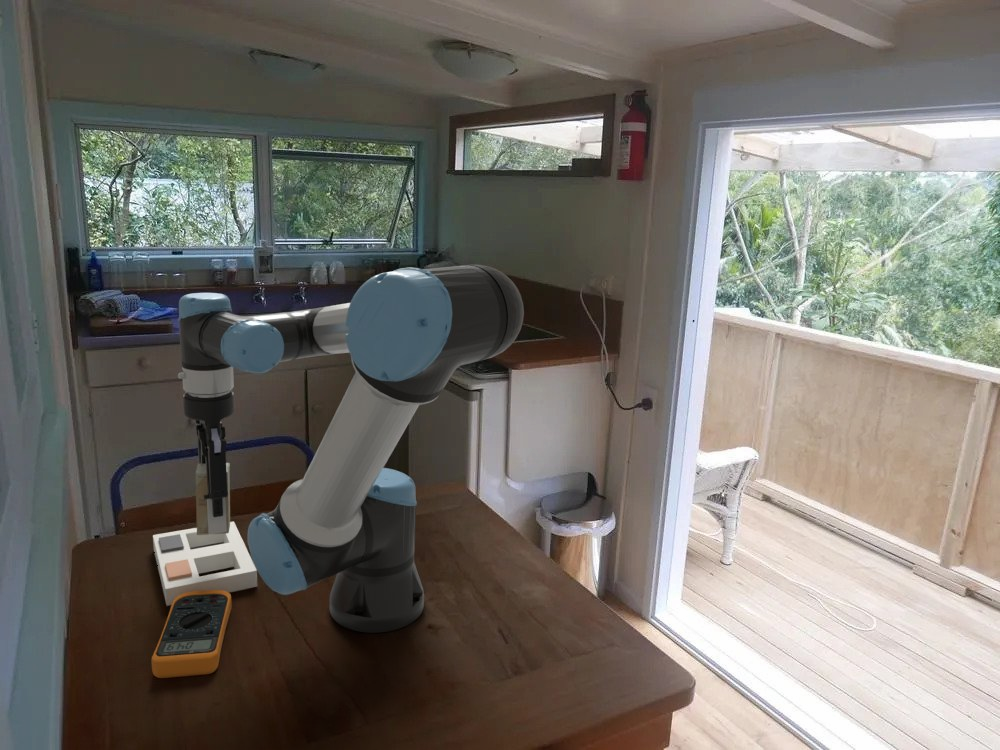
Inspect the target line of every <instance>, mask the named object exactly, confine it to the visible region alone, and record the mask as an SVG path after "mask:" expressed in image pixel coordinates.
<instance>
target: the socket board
mask: <svg viewBox="0 0 1000 750" xmlns="http://www.w3.org/2000/svg"><path fill="white" fill-rule="evenodd" d="M152 542H153V544H152V545H153V552H155V553H154V557H155V561H156V565H158V566H157V570H158V574H159V577H160V582H161V583H160V584H161V587H162V593H163V597H164V601H165V604H166V607H168V606H171V605H172V602H173V600H174V599H175V598H176V597H177V596H179V595H181V594H183V593H187V592H192V591H206V590H223V591H226V592H228V593H233V592H238V591H239V592H240V591H243V590H248V589H253V588H257V587H258V571H257V569H256V567H255V565H254V562H253V560H252V557H251V554H250V553H249V550H248V548H247V546H246V544H245V542H244V540H243V538H242V536H241V534H240V532H239V529H238V528H237V525H236V523H235V521H230V528H229V533H226V534H211V535H197V527H192V528H187V529H182V530H181V529H180V530H176V531H170V532H164V533H157V534H153V535H152ZM228 568H233V569H231V570H227V571H221V572H216V573H211V574H207V575H206V574H205V573H209V572H213V571H219V570H224V569H228ZM199 574H205V575H202V576H200V575H199Z"/></svg>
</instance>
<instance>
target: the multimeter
mask: <svg viewBox="0 0 1000 750" xmlns="http://www.w3.org/2000/svg"><path fill="white" fill-rule="evenodd" d="M232 606H233V605H232V595H231V592H229V593H228V592H226V591H223V590H206V591H192V592H187V593H183V594H181V595H179V596H177V597H176V598H175V599H174V600H173V602H172V605H170V609H169V612H168V616H167V617H166V620H165V623H164V627H163V629H162V632H161V635H160V636H159V637H160V638H159V639H158V642H157V645H156V647H155V649H154V652H153V654H152V656H151V662H150V663H151V670H152V675H153V676H155V677H156V678H158V679H168V678H178V677H190V676H201V675H209V674H212V673H214V672H216V670H217V669H218V667H219V662H220V659H221V658H220V657H221V651H222V647H223V641H224V638H225V634H226V628H227V626H228V622H229V618H230V616H231V615H230V614H231V611H232Z"/></svg>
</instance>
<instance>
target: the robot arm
mask: <svg viewBox="0 0 1000 750" xmlns="http://www.w3.org/2000/svg"><path fill="white" fill-rule="evenodd" d="M232 312H233V309H232V304H231V300H230V298H229V296H228V295H226V294H225V293H224V294H223V293H217V292H194V293H188V294H185V295H183V296H181V297H180V299H179V301H178V317H177V322H178V329H179V330H178V332H179V343H180V344H179V346H180V359H181V369H182V372H178V374H177V378H178V379H182V389H183V391H184V394H183V395H182V396H183V397H182V401H183V414H184V416H185V417H186V418H188V419H190V420H193V421H195V423H196V424H195V432H196V437H197V438H196V439H197V443H196V444H197V452H198V455H197V457H198V458H197V459H198V464H206V472H207V484H208V495H203V496H204V500H205V499H207V512H208V533H209V535H211V534H216V533H222V532H227V526H226V502H225V497H227V496H228V492H227V472H226V463H227V455H226V454H227V440H226V439H225V438H226V427H225V426H223V422H222V420H223V419H225V418H229V417H231V416H233V414H234V412H235V394H234V392H233V388H234V387H235V386H234V385H235V383H234V381H235V378H234V369H236V370H237V371H242V372H244V373H252V374H264V373H268V372H269V371H271V370H272V369H273V368H274V367H276V366H277V365H278V364H279V363H283V362H289V361H293V360H298V359H304V358H305V359H306V358H311V357H317V356H318V357H319V356H329V355H330V356H331V355H336V354H345V353H346V354H349V355H350V358H351V360H350V361H351V364H352V366H353V370H354V371H355V373H354V375H353V377H352V379H351V381H350V383H349V384H348V387H347V389H346V391H345V393H344V395H343V397H342V400H340V403H339V405H338V408H337V409H336V411H335V413H334V416H332V417H333V418H332V420H331V421H330V423H329V425H328V427H327V430H326V431H325V433H324V435H323V438H322V440H321V442H320V444H319V446H318V448H317V450H316V451H315V453H314V456H313V458H312V460H311V462H310V464H309V466H308V468H307V470H306V472H305V474H304V477H303V478H301V479H297V480H296V481H294V482H293V483H291V484H290V485H289V486H288V487H286V489H285V490H284V492H283V493H282V495H281V498H280V500H279V502H278V504H277V506H276V507H275V508H274V510H272V511H269V512H268V513H267V512H266V513H265V512H262V513H261V514H259V515H258V516H256V517H255V518H252V520H251V521H250V523H249V525H248V527H247V528H248V529H247V544H248V549H249V550H248V551H249V552H250V553H249V554H250V557H251V559H252V561H253V563H254V565H255V568H256V570H257V574H259V576H260V578H261V580H263V581H264V583H265V584H266V585H267V586H268V588H269V589H271V590H272V591H273V592H276V593H278V594H279V595H285V596H288V595H292V594H294V593H297V592H299V591H305V590H307V588H308V587H311V586H314V585H315V584H317V583H320V582H321V581H325V580H326V579H328V578H330V577H333V576H335V575H336V577H335V580H334V581H333V585H332V587H331V591H330V594H329V613H330V616H331V618H332V619H333V620H334V621H335V622H336V623H337V624H339V626H341V627H344V628H346V629H349V630H352V631H354V632H361V633H369V634H375V633H380V634H381V633H386V632H393V631H396V630H400V629H402V628H404V627H406V626H409V625H410V624H412V623H414V621H416V620H417V619H418V618H420V616H421V614H422V613H423V610H424V606H425V593H424V588H423V584H422V581H421V578H420V576H419V573H418V570H417V566H416V564H415V549H416V548H415V545H416V544H415V543H416V541H415V540H416V519H417V517H416V515H417V504H418V502H417V500H416V484H415V482H414V480H413V479H412V478H411V477H410V476H408V475H407V474H405V473H404V472H402V471H398V470H396V469H392V468H388V467H387V468H386V467H385V466H386V464H387V462H388V460H389V458H390V457H391V456H392V454H393V452H394V449H395V448H396V446H397V445H398V442H399V441H400V439H401V437H402V436H403V434H404V432H405V430H406V429H407V427H408V425H409V424H410V422H411V421H412V418H413V417H414V415H415V413H416V412H417V410H418V408H419V406H421V405H426V404H429V403H432V402H433V401H435V400H437V398H439V396H440V395H441V394H442V392H443V390H444V389H445V387H446V385H447V383H448V382H449V380H450V378H451V377H452V375H454V374H453V373H454V372H455V371H456V369H458V368H459V367H460V366H464V365H469V364H472V363H477V362H481V361H484V360H487V359H491V358H493V357H496V356H498V355H499V354H501V353H504V351H507V349H508V348H509V347H511V346H512V344H514V342H515V340H516V339H517V337H518V335H519V334H520V332H521V329H522V325H523V324H524V316H525V310H524V302H523V299H522V295H521V293H520V290H519V289H518V287H517V286H516V284H515V283H514V282H513V281H512V279H510V278H509V277H508V276H507V275H506V274H505V273H503V272H502V271H500V270H499V269H497V268H494V267H492V266H488V265H483V264H465V265H454V266H452V265H451V266H445V267H442V266H441V267H434V268H433V267H432V268H431V267H430V268H420V267H403V268H398V269H395V270H393V271H387V272H382V273H379V274H375V275H373V276H372V277H370V278H369V279H367V280H366V281H365V282H363V284H362V285H361V286H360V287H359V288H358V289H357V291H356V292H355V294H354V295H353V296H352V299H351V300H350V302H347V303H341V304H336V305H335V304H334V305H330V306H329V305H328V306H323V307H317V308H309V309H300V310H294V311H285V312H275V313H266V314H257V315H247V316H244V315H238V314H234V313H232Z"/></svg>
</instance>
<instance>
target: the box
mask: <svg viewBox="0 0 1000 750" xmlns="http://www.w3.org/2000/svg"><path fill="white" fill-rule="evenodd" d="M230 467H231V465H230V462H226V472H227V492H228V496H227V497H225V502H226V526H227V532H222V533H216V534H226V533H229V528H230V522H231V503H230V502H231V494H230V493H231V491H230V490H231V489H230V488H231V487H230V486H231V485H230V484H231V483H230V481H231V480H230V475H231V474H230ZM203 495H208V484H207V472H206V464H199V463H197V465H196V469H195V501H196V502H195V505H196V509H195V510H196V512H195V513H196V514H195V515H196V528H197V535H209V533H208V512H207V499H205V500H204V496H203Z"/></svg>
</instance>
